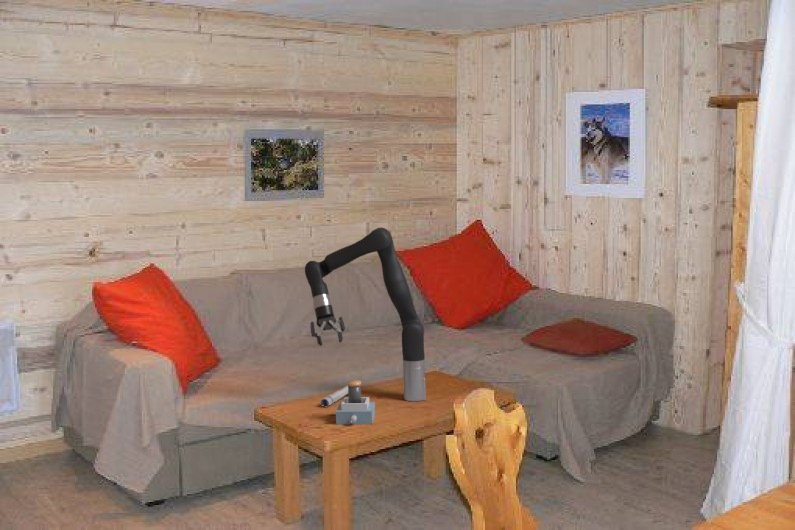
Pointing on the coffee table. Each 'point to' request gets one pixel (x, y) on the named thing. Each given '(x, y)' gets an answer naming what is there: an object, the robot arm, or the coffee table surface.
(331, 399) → the grey flanged rod
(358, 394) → the dark grey lidded jar
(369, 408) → the blue knob tray
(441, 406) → the coffee table surface
